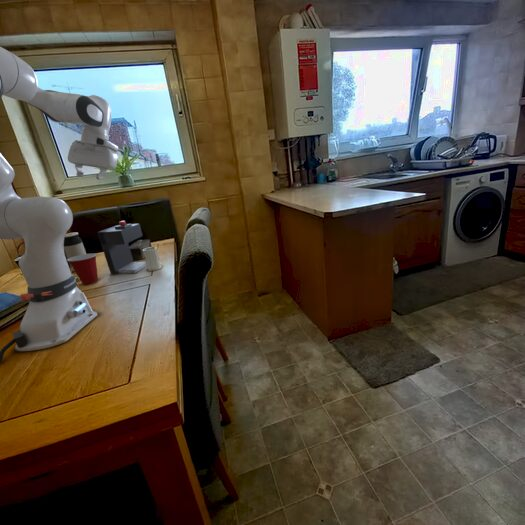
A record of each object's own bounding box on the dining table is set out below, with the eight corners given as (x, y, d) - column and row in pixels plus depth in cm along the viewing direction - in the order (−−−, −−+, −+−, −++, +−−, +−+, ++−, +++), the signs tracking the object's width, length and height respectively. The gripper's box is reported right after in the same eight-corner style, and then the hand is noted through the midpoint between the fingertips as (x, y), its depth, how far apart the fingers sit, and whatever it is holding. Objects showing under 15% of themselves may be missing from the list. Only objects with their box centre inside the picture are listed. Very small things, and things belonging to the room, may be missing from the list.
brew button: (123, 225, 122) (122, 221, 122) (118, 225, 123) (117, 222, 122) (127, 224, 124) (126, 220, 124) (122, 224, 125) (121, 220, 124)
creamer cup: (159, 269, 126) (154, 249, 123) (146, 271, 126) (140, 251, 122) (162, 265, 132) (157, 246, 128) (149, 266, 131) (144, 247, 128)
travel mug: (82, 271, 136) (69, 236, 129) (68, 272, 137) (55, 237, 131) (94, 265, 143) (82, 231, 137) (81, 266, 144) (68, 232, 138)
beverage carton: (153, 248, 161) (150, 237, 159) (143, 259, 143) (139, 247, 141) (139, 250, 161) (136, 239, 158) (127, 261, 143) (123, 249, 140)
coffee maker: (133, 274, 124) (120, 228, 117) (110, 274, 127) (96, 230, 120) (150, 263, 136) (138, 221, 129) (129, 264, 139) (116, 222, 131)
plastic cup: (109, 275, 126) (101, 250, 121) (94, 286, 115) (84, 259, 111) (88, 277, 127) (79, 252, 123) (70, 287, 117) (60, 261, 113)
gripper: (65, 136, 107) (60, 172, 108) (109, 141, 103) (104, 179, 104) (79, 142, 113) (75, 176, 114) (122, 148, 109) (116, 183, 110)
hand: (89, 177), depth 109 cm, fingers open, 8 cm apart
